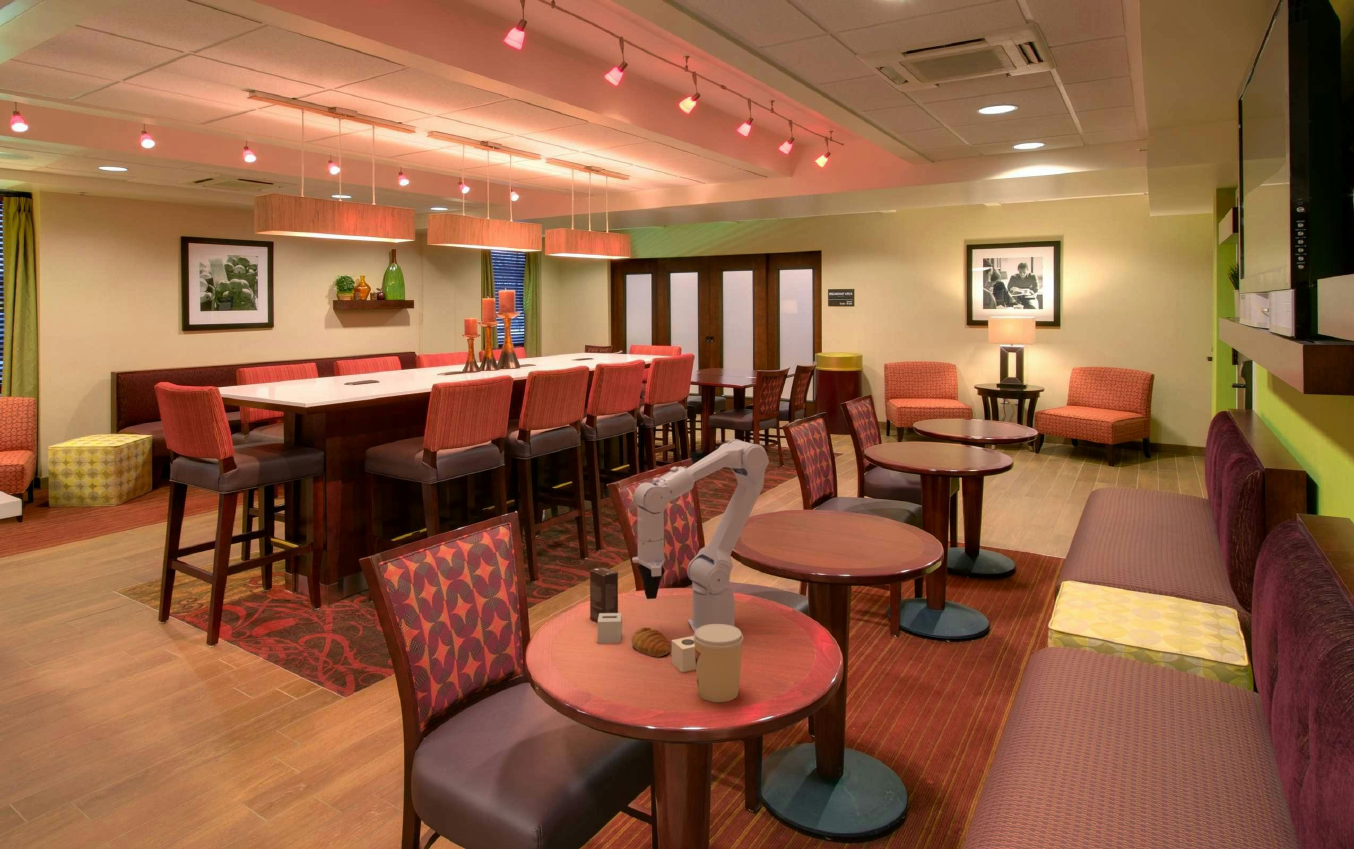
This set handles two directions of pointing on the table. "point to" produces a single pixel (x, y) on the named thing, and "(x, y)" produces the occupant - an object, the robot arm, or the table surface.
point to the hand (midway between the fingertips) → (651, 597)
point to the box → (603, 592)
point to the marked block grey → (609, 628)
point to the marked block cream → (684, 654)
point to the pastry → (650, 642)
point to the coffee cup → (718, 661)
